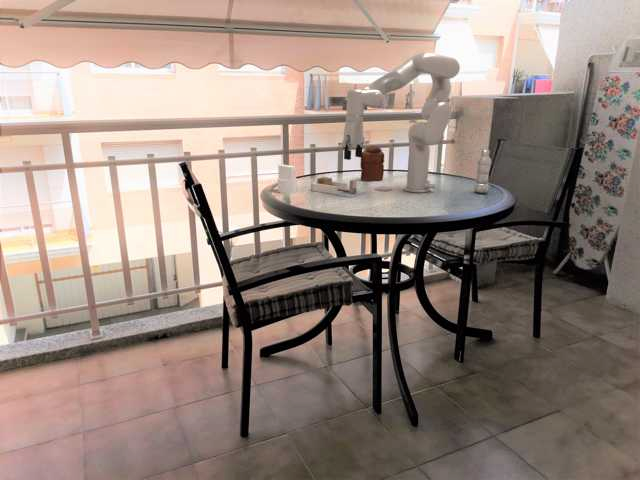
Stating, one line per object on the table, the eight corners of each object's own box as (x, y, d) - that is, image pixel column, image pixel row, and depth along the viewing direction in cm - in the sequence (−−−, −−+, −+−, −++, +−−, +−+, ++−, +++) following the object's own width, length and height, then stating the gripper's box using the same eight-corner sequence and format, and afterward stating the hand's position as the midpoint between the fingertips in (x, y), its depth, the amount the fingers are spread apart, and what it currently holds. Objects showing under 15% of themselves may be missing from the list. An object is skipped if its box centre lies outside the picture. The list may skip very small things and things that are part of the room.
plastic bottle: (488, 192, 224) (493, 149, 217) (486, 195, 218) (492, 151, 212) (474, 190, 226) (479, 148, 220) (472, 193, 220) (477, 150, 214)
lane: (347, 190, 225) (347, 183, 224) (335, 194, 217) (336, 186, 216) (322, 186, 232) (323, 179, 231) (311, 190, 224) (311, 183, 223)
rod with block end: (358, 192, 219) (358, 180, 217) (353, 194, 215) (353, 182, 213) (322, 187, 229) (323, 175, 228) (317, 189, 225) (317, 177, 224)
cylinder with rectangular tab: (300, 191, 223) (300, 165, 219) (286, 194, 217) (286, 168, 213) (287, 188, 229) (287, 163, 225) (273, 191, 222) (273, 165, 219)
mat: (364, 192, 221) (364, 192, 221) (351, 197, 211) (351, 196, 211) (349, 190, 225) (349, 189, 225) (335, 195, 216) (335, 194, 216)
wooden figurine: (380, 178, 253) (381, 144, 247) (383, 181, 247) (385, 146, 241) (358, 179, 251) (359, 145, 245) (362, 181, 245) (363, 146, 239)
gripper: (357, 117, 216) (355, 155, 221) (336, 119, 202) (335, 159, 208) (371, 118, 212) (369, 157, 217) (351, 120, 198) (350, 161, 204)
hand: (353, 158), depth 212 cm, fingers open, 9 cm apart
